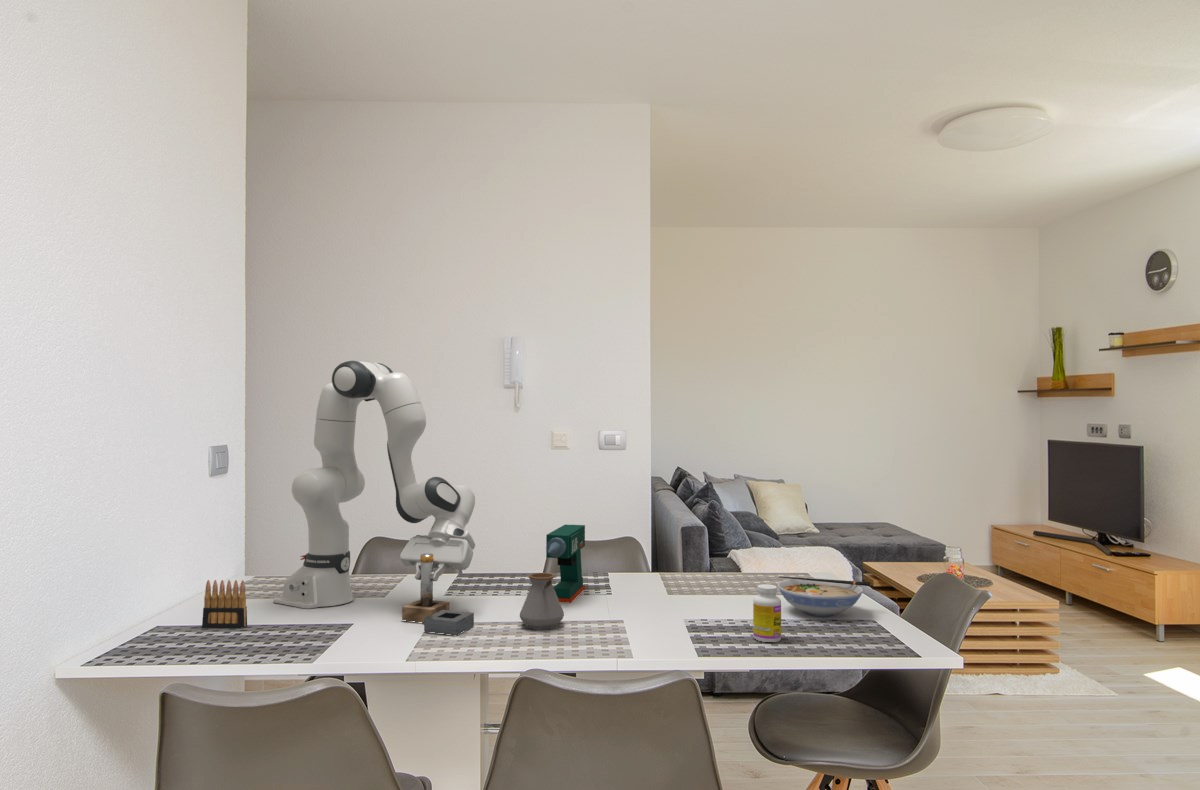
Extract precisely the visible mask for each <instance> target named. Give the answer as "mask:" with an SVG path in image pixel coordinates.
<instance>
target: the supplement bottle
mask: <svg viewBox="0 0 1200 790" xmlns="http://www.w3.org/2000/svg"><path fill="white" fill-rule="evenodd" d="M756 589H757V594H756V595H755V597H754V598H753V600H752V601H753V603H752V605H753V606H752V607H753V610H752V611H753V615H752V616H753V620H752V621H753V622H752V626H753V627H752V628H753V629H752V631H753V633H752V634H753V635H752V636H753V639H754V640H755V639H756V640H755V641H757V640H758V641H757V642H760V641H762V643H765V642H775V643H778V642H780V641H781V639H782V601H781V598H780V597H779V596H777V592H778V585H777V586H776V585H774V584H767V583H766V584H764V583H763V584H759V585H757V588H756Z"/></svg>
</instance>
